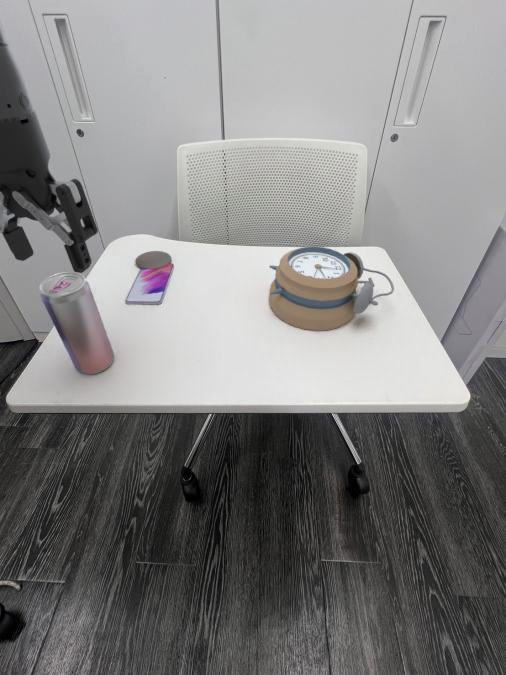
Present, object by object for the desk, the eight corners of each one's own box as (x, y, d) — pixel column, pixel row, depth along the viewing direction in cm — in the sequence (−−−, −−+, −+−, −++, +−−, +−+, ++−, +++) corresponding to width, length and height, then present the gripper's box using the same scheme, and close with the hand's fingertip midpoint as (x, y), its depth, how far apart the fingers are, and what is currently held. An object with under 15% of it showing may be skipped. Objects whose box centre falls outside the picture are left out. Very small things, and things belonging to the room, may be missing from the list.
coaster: (128, 266, 76) (128, 264, 75) (147, 250, 81) (146, 248, 81) (160, 273, 74) (160, 271, 74) (177, 256, 80) (177, 254, 80)
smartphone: (123, 302, 66) (142, 262, 77) (124, 306, 66) (143, 266, 77) (161, 302, 66) (174, 262, 77) (161, 306, 66) (175, 266, 77)
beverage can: (67, 371, 53) (25, 291, 43) (90, 345, 57) (58, 267, 47) (101, 379, 52) (66, 300, 42) (122, 353, 56) (96, 274, 46)
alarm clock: (270, 238, 68) (386, 242, 68) (267, 277, 74) (373, 281, 74) (272, 286, 55) (414, 291, 55) (268, 329, 61) (396, 333, 61)
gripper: (-112, 109, 30) (-17, 268, 41) (19, 123, 27) (83, 290, 38) (-36, 97, 35) (30, 241, 46) (80, 107, 33) (121, 258, 44)
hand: (54, 263), depth 42 cm, fingers open, 8 cm apart
